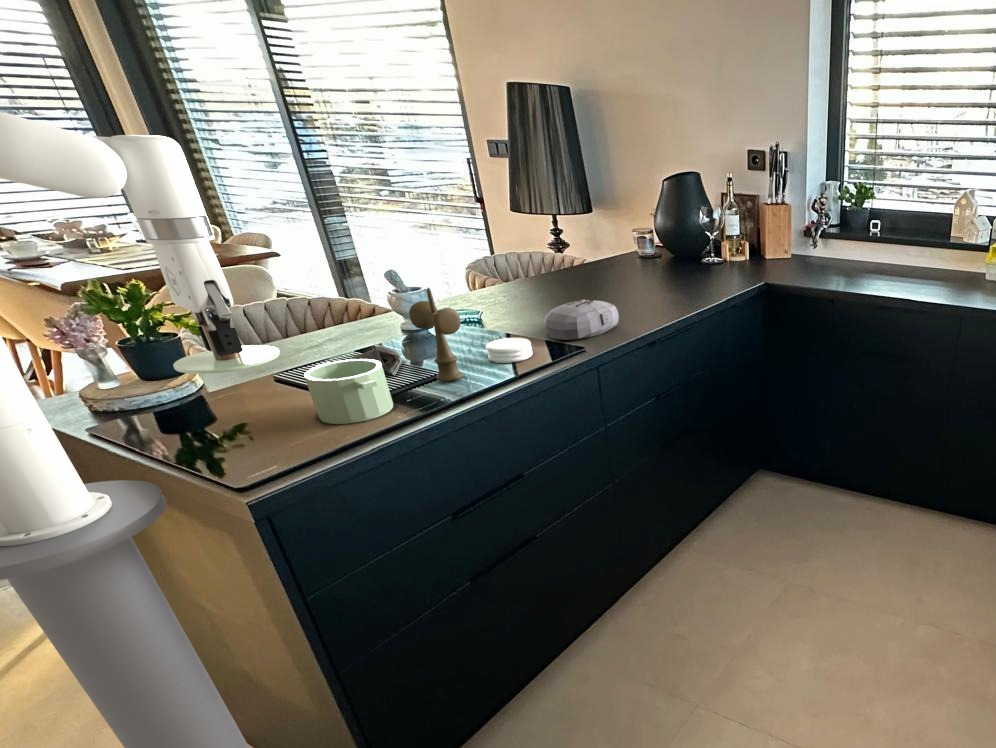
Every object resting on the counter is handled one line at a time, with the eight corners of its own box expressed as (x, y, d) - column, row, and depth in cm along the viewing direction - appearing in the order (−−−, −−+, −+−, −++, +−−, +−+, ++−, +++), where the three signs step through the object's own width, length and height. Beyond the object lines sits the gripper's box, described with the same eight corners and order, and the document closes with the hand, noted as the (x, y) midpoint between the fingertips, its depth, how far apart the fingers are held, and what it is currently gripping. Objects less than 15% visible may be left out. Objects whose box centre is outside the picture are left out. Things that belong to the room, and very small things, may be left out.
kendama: (451, 371, 141) (429, 282, 132) (476, 380, 136) (455, 288, 127) (424, 379, 136) (400, 286, 127) (450, 388, 132) (427, 293, 123)
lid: (194, 383, 92) (176, 340, 89) (162, 366, 98) (144, 325, 95) (296, 361, 102) (282, 321, 99) (261, 347, 108) (247, 309, 105)
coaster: (486, 353, 152) (483, 339, 151) (529, 348, 157) (527, 334, 155) (490, 366, 145) (487, 351, 143) (536, 360, 149) (533, 346, 147)
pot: (346, 433, 112) (331, 388, 108) (300, 410, 120) (285, 368, 116) (413, 411, 121) (401, 369, 117) (367, 392, 129) (354, 352, 125)
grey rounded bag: (586, 320, 181) (532, 337, 165) (582, 291, 177) (527, 306, 161) (627, 327, 175) (576, 346, 159) (624, 297, 172) (571, 313, 156)
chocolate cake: (369, 364, 145) (336, 340, 133) (400, 353, 146) (369, 329, 135) (380, 399, 143) (347, 378, 131) (411, 387, 144) (381, 366, 132)
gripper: (123, 227, 92) (175, 347, 100) (164, 238, 84) (217, 367, 92) (188, 222, 97) (233, 337, 106) (232, 232, 90) (276, 355, 98)
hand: (225, 350), depth 99 cm, fingers closed on lid, 3 cm apart
